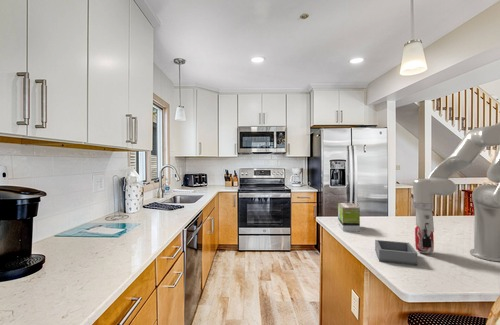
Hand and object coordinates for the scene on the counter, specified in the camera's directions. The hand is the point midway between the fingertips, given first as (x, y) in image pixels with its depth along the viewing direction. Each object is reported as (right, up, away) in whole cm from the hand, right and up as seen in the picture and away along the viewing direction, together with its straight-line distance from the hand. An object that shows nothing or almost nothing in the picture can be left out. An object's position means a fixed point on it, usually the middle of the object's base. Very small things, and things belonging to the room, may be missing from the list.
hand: (424, 244), depth 119 cm
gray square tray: (-16, -4, -5) cm, 18 cm away
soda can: (0, -4, 0) cm, 4 cm away
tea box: (-19, -4, +42) cm, 46 cm away
